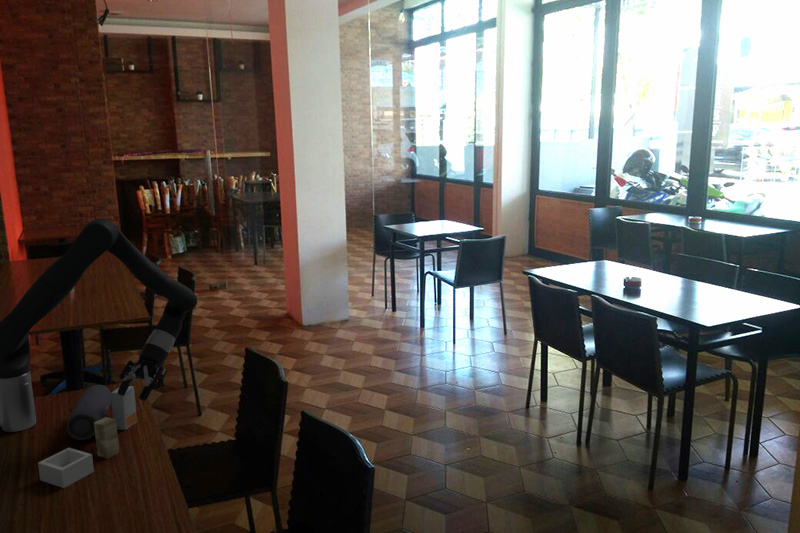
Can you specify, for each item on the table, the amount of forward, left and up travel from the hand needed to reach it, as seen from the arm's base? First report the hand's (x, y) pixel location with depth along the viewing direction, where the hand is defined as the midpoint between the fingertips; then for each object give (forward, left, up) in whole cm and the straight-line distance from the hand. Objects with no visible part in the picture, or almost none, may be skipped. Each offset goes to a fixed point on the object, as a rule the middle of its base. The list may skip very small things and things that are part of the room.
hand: (130, 397), depth 184 cm
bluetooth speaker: (-19, +1, -14) cm, 23 cm away
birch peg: (0, -9, -13) cm, 16 cm away
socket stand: (0, -22, -13) cm, 26 cm away
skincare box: (-10, +6, -14) cm, 18 cm away
